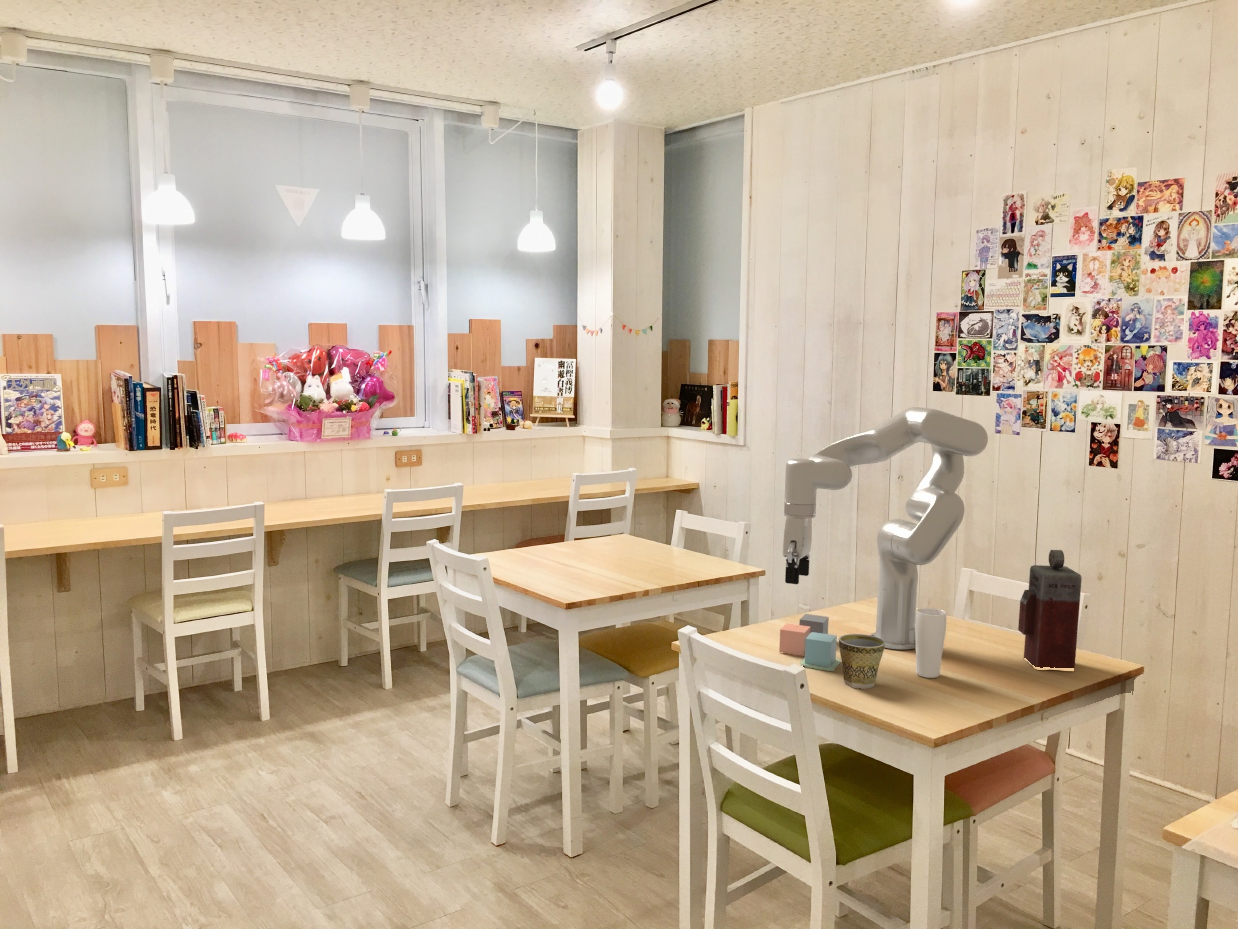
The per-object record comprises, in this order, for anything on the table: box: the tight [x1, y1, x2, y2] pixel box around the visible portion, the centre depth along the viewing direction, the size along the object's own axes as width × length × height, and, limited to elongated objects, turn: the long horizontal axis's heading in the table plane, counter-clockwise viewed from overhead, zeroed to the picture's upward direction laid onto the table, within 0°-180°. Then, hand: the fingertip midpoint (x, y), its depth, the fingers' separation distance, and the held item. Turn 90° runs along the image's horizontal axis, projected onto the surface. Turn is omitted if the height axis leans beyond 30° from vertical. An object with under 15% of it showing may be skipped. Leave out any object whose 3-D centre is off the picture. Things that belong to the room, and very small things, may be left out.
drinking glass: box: [915, 607, 947, 679], centre depth 227 cm, size 7×7×15 cm
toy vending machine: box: [1017, 549, 1083, 669], centre depth 236 cm, size 9×11×28 cm
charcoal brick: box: [798, 613, 830, 634], centre depth 253 cm, size 6×6×6 cm
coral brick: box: [778, 623, 810, 657], centre depth 244 cm, size 6×6×6 cm
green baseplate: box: [799, 657, 842, 672], centre depth 234 cm, size 8×8×1 cm
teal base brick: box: [804, 632, 838, 667], centre depth 234 cm, size 6×6×6 cm
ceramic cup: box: [838, 633, 885, 690], centre depth 222 cm, size 13×10×10 cm
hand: (797, 579), depth 242 cm, fingers open, 9 cm apart
